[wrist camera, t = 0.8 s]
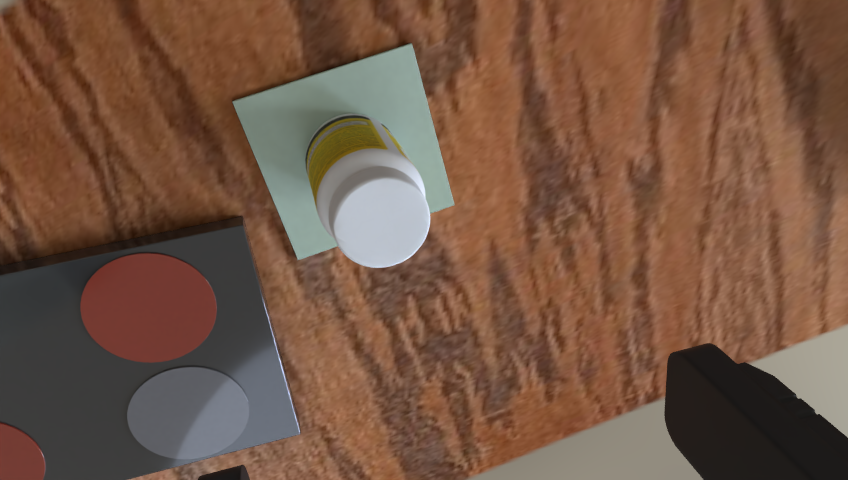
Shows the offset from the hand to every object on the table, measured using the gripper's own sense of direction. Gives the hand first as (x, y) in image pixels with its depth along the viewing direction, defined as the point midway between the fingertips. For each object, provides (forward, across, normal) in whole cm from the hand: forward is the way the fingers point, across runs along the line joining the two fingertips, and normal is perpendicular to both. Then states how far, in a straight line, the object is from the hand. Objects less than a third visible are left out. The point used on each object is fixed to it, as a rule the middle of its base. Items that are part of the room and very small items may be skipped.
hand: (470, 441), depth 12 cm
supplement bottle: (+23, -1, +2) cm, 23 cm away
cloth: (+23, -1, +2) cm, 23 cm away
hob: (+23, +16, +11) cm, 30 cm away
